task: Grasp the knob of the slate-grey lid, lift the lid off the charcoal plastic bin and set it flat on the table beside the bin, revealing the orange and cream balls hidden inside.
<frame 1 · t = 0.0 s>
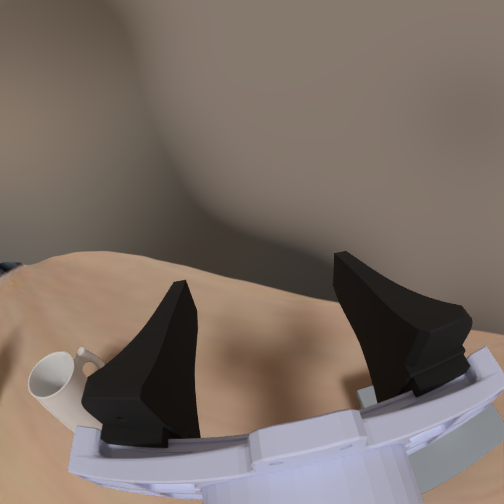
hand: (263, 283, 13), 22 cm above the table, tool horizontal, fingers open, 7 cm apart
mug: (111, 422, 28), on the table
bin lid: (436, 421, 18), point 4 cm above the table, touching bin
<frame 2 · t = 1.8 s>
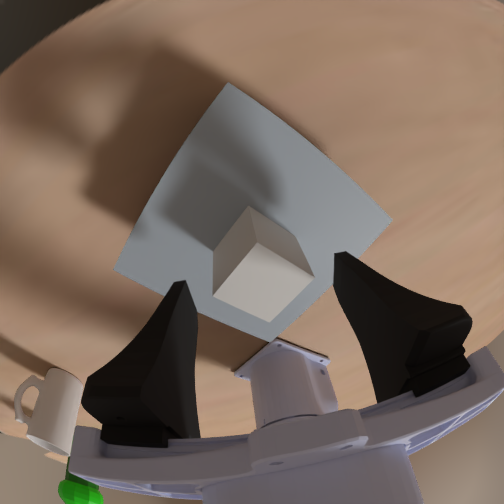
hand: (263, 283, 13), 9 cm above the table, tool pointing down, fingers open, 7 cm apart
mug: (57, 372, 31), on the table
bin lid: (253, 237, 17), point 4 cm above the table, touching bin
plastic bottle: (88, 436, 46), on the table
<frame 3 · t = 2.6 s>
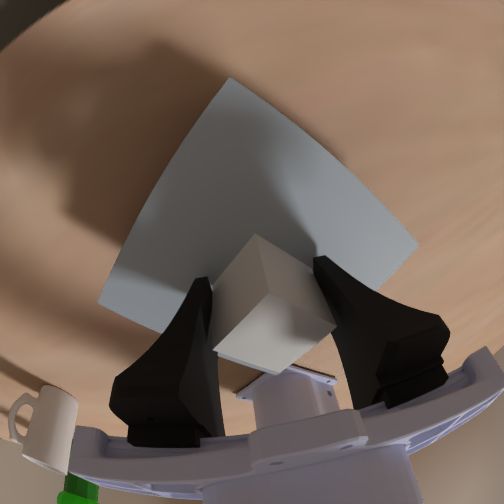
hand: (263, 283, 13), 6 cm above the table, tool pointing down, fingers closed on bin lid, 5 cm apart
mug: (51, 389, 28), on the table
bin lid: (259, 267, 14), point 4 cm above the table, touching bin, gripper
plastic bottle: (86, 447, 43), on the table
when the fingers open (3 cm above the table, at t = 7.0 s): bin lid drops 2 cm, on the table.
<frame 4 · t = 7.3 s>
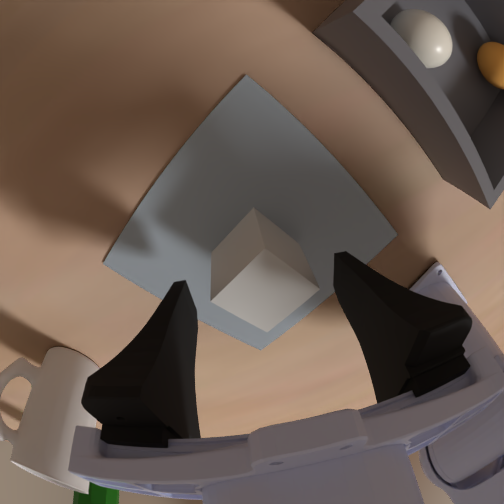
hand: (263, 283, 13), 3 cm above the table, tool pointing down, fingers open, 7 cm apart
mug: (62, 355, 20), on the table
orange ball: (499, 65, 8), point 2 cm above the table, touching bin
bin: (443, 51, 10), on the table
bin lid: (254, 241, 16), on the table
cream ball: (421, 38, 8), point 2 cm above the table, touching bin
plastic bottle: (101, 446, 35), on the table
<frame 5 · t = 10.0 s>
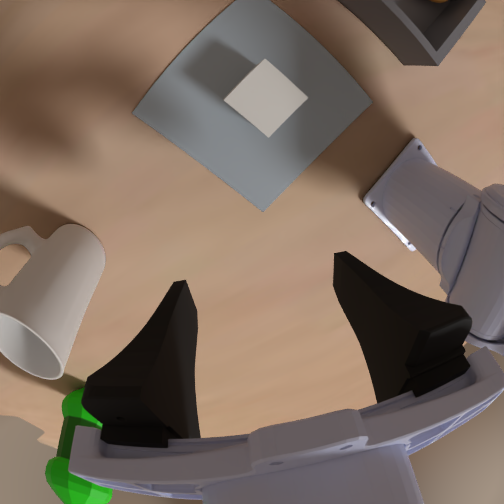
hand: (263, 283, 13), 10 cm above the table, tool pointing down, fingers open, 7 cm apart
mug: (67, 239, 22), on the table
bin lid: (256, 97, 18), on the table
plastic bottle: (93, 394, 37), on the table
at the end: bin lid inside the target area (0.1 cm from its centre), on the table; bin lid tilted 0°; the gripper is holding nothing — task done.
